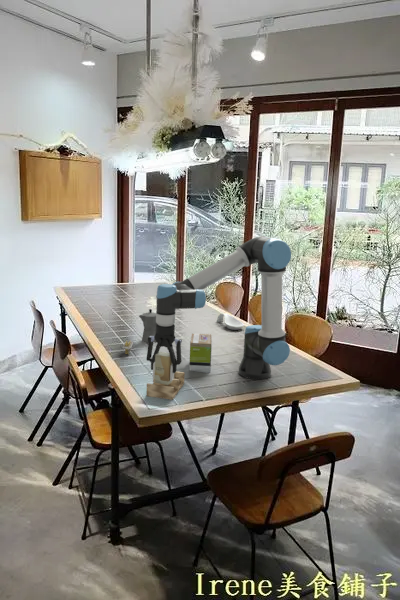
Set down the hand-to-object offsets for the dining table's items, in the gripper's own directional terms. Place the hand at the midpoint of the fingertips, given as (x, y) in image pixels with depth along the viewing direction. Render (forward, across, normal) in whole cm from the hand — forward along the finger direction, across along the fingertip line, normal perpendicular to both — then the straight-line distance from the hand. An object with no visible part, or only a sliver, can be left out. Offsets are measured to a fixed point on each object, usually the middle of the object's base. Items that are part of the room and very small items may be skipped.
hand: (163, 378), depth 189 cm
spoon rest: (+8, -8, -114) cm, 114 cm away
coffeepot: (+8, +28, -68) cm, 74 cm away
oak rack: (+7, 0, -4) cm, 8 cm away
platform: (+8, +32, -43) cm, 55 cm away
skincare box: (+2, 0, 0) cm, 2 cm away
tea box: (+8, -7, -37) cm, 38 cm away
